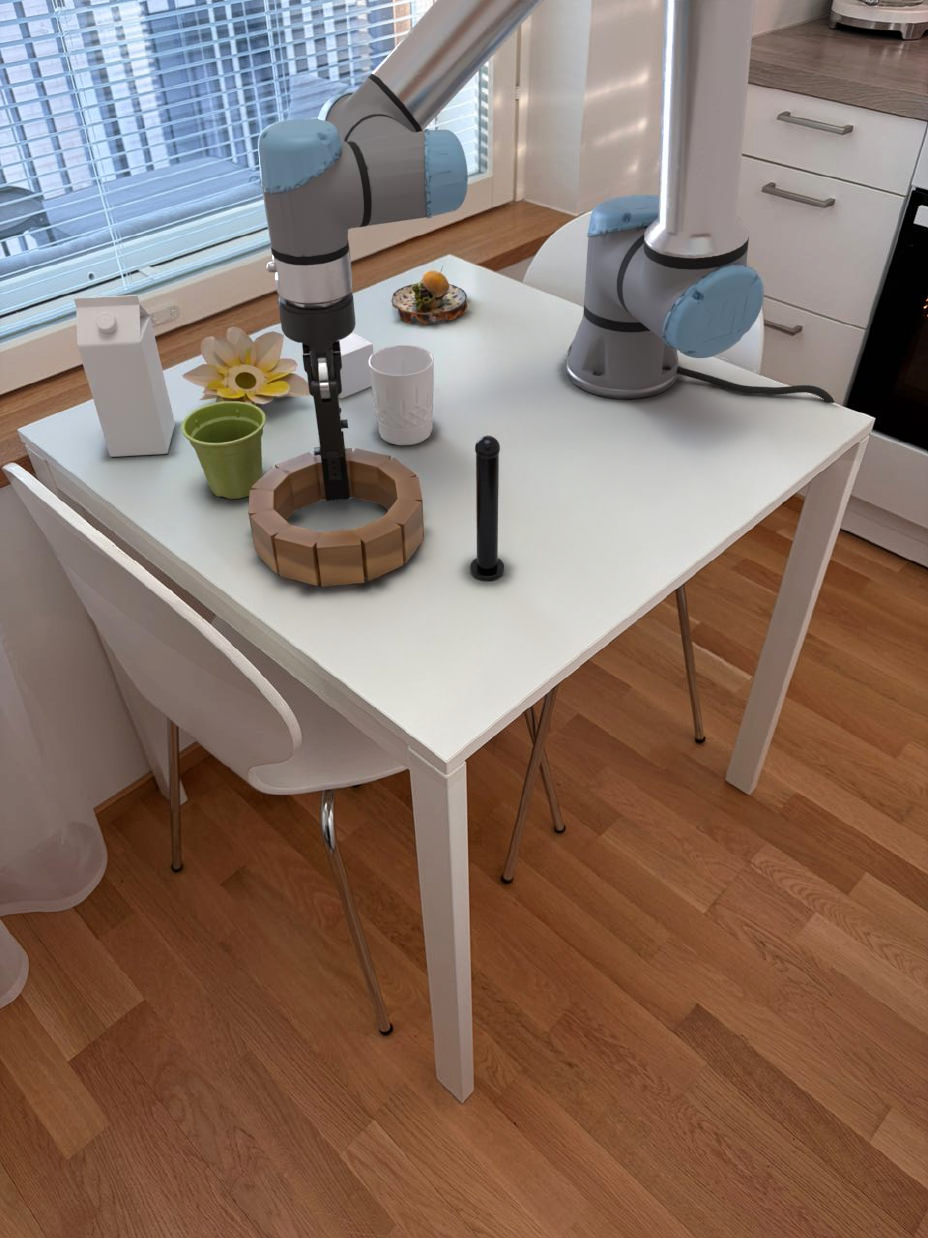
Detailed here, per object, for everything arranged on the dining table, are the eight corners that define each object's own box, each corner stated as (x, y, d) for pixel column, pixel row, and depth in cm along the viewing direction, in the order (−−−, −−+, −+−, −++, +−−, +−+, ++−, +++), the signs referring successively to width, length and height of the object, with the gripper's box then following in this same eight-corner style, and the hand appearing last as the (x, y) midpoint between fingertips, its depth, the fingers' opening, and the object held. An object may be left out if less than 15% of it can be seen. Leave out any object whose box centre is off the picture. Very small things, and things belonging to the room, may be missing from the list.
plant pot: (209, 517, 113) (194, 452, 107) (186, 476, 119) (171, 413, 113) (287, 495, 116) (276, 430, 110) (261, 456, 122) (250, 393, 117)
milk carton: (120, 428, 128) (80, 285, 115) (175, 425, 128) (142, 282, 116) (110, 458, 123) (67, 311, 110) (168, 454, 123) (132, 308, 110)
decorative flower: (204, 432, 123) (189, 350, 119) (183, 412, 132) (168, 336, 128) (317, 410, 129) (307, 332, 124) (290, 392, 138) (279, 319, 133)
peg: (501, 558, 106) (503, 426, 96) (506, 579, 104) (509, 445, 93) (468, 561, 106) (466, 429, 95) (472, 582, 103) (471, 449, 93)
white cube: (376, 384, 136) (373, 343, 132) (340, 399, 133) (336, 357, 129) (349, 368, 139) (345, 328, 135) (314, 383, 136) (309, 342, 132)
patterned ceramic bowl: (435, 285, 160) (433, 239, 155) (483, 309, 153) (483, 261, 148) (375, 307, 154) (371, 259, 149) (422, 332, 147) (420, 283, 142)
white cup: (428, 451, 123) (425, 378, 116) (367, 445, 124) (360, 372, 117) (442, 419, 128) (440, 347, 122) (383, 413, 130) (378, 342, 123)
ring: (414, 479, 116) (412, 443, 113) (431, 576, 103) (429, 538, 100) (257, 492, 115) (251, 455, 111) (253, 592, 101) (246, 553, 98)
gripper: (277, 264, 104) (303, 456, 120) (276, 330, 93) (305, 533, 108) (348, 260, 105) (365, 451, 120) (357, 324, 93) (374, 527, 109)
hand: (337, 489), depth 114 cm, fingers closed on ring, 3 cm apart
